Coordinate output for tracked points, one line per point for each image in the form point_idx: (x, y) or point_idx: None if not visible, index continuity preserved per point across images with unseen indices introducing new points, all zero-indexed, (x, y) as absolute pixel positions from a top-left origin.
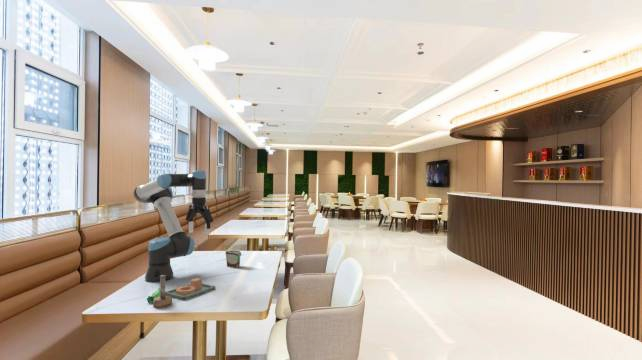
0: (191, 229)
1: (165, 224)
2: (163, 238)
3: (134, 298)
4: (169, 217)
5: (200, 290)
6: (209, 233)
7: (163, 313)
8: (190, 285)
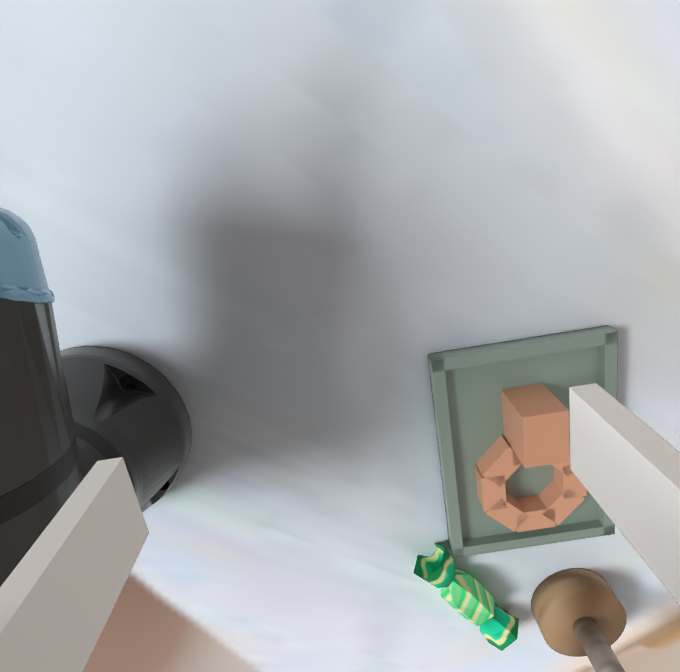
0: (109, 539)
1: None
2: None
3: (377, 636)
4: None
5: (568, 408)
6: (603, 393)
7: (658, 633)
8: (514, 449)
